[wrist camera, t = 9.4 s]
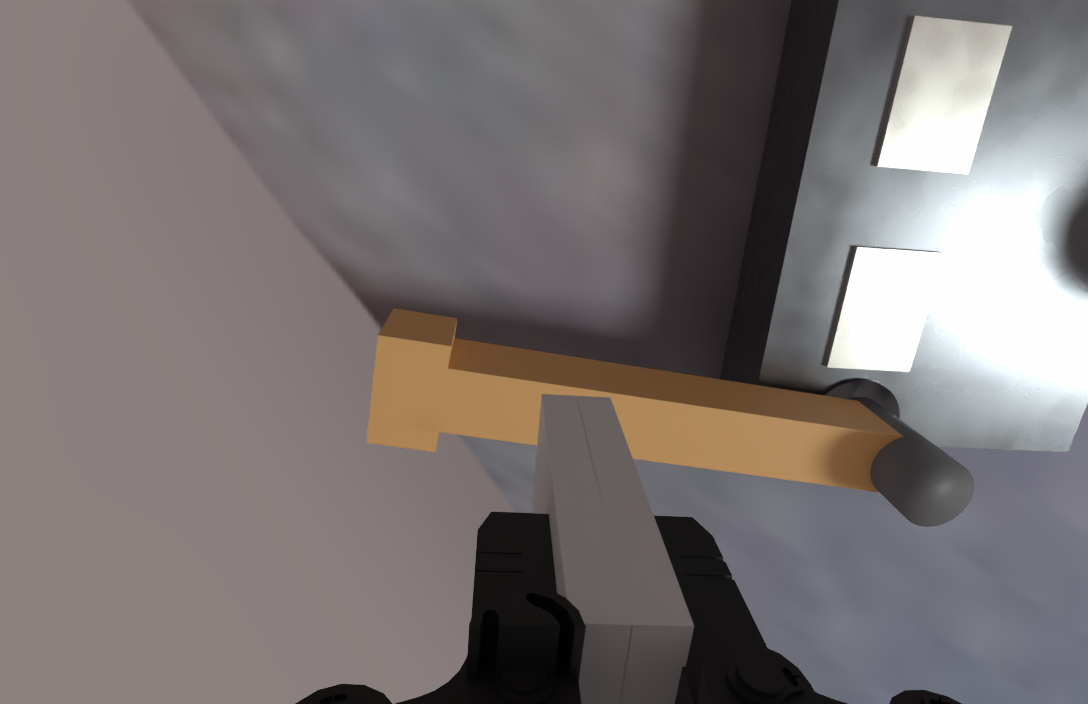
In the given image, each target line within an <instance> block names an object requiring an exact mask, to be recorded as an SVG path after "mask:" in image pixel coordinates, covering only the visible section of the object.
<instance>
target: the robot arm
mask: <svg viewBox="0 0 1088 704" xmlns="http://www.w3.org/2000/svg"><path fill="white" fill-rule="evenodd" d="M532 506H533V513H510V512H491V513H490V514H489V516H488V517H487V518H486V520H485V521H484V522H483V524H482V525H481V526H480V528H479V529H478V535H477V550H476V564H475V578H474V592H473V606H472V618H471V622H470V625H469V641H468V642H469V643H468V655H467V658H466V660H465V662H464V664H463V665H462V667H461V669H460V671H459V672H458V673H457V674H456V675H455V676H454V677H453V678H452V679H451V680H450V681H449V682H447V683H446V684H444V685H443V686H441V687H440V688H438V689H437V690H435V691H433V692H430V693H428V694H425V695H423V696H420V697H417V698H414V699H410V700H407V701H403V702H400V703H396V704H847V703H844V702H840V701H837V700H834V699H831V698H829V697H826V696H823V695H821V694H818V693H816V692H814V690H813V688H812V686H811V684H810V683H809V682H808V680H807V679H806V678H805V676H804V675H803V674H802V672H801V671H800V670H799V668H798V667H796V666H795V665H794V664H792V663H791V662H790V661H788V660H787V659H786V658H785V657H783V656H782V655H781V654H779V653H777V652H774V651H772V650H770V649H768V648H767V646H766V644H765V642H764V640H763V638H762V636H761V634H760V632H759V630H758V628H757V626H756V624H755V622H754V620H753V618H752V616H751V613H750V611H749V609H748V607H747V605H746V603H745V601H744V599H743V597H742V595H741V593H740V591H739V589H738V587H737V585H736V583H735V581H734V580H732V575H731V573H730V571H729V569H728V566H727V564H726V562H723V556H722V554H721V552H720V550H719V548H718V546H717V544H716V542H715V540H714V538H713V536H712V535H711V534H710V533H709V532H708V531H707V530H705V529H704V528H703V527H702V526H701V525H700V524H699V523H698V522H697V521H696V520H695V519H693V518H692V517H672V516H654V515H653V512H652V510H651V507H650V504H649V502H648V499H647V496H646V493H645V491H644V488H643V485H642V482H641V480H640V477H639V474H638V472H637V469H636V466H635V463H634V461H633V458H632V455H631V452H630V450H629V447H628V444H627V442H626V439H625V436H624V433H623V431H622V428H621V425H620V422H619V420H618V417H617V414H616V412H615V409H614V406H613V403H612V401H611V398H610V397H590V396H571V395H552V394H542V396H541V408H540V419H539V431H538V442H537V453H536V465H535V476H534V488H533V499H532ZM296 704H392V703H391V702H390V700H389V699H388V698H387V697H386V696H385V695H384V693H381V692H379V691H377V690H374V689H372V688H370V687H367V686H365V685H352V684H340V685H336V686H332V687H328V688H325V689H321V690H317V691H316V692H314V693H312V694H311V695H309V696H308V697H306V698H304V699H302V700H301V701H299V702H298V703H296ZM890 704H961V703H959V702H957V701H955V700H953V699H951V698H949V697H947V696H944V695H940V694H937V693H933V692H929V691H926V690H906V691H903V692H901V693H900V694H898V695H896V696H894V697H892V699H891V701H890Z"/></svg>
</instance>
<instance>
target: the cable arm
mask: <svg viewBox="0 0 1088 704" xmlns="http://www.w3.org/2000/svg"><path fill="white" fill-rule="evenodd" d="M456 325H457V318H452V317H446V316H440V315H434V314H427V313H421V312H415V311H409V310H402V309H396V308H393V310H392V312H391V313H390V315H389V317H388V319H387V320H386V322H385V324H384V325H383V327H382V329H381V331H380V332H379V334H378V339H377V348H376V358H375V368H374V377H373V387H372V396H371V405H370V415H369V425H368V434H367V443H372V444H379V445H387V446H394V447H401V448H409V449H417V450H424V451H431V452H436V448H437V443H438V438H439V433H440V432H443V433H450V434H457V435H465V436H472V437H479V438H487V439H494V440H501V441H508V442H516V443H523V444H530V445H537V442H538V431H539V419H540V408H541V396H542V394H552V395H571V396H590V397H610V398H611V401H612V403H613V406H614V409H615V412H616V414H617V417H618V420H619V422H620V425H621V428H622V431H623V433H624V436H625V439H626V442H627V444H628V447H629V450H630V452H631V455H632V458H633V459H640V460H647V461H654V462H662V463H669V464H676V465H684V466H691V467H698V468H705V469H713V470H720V471H727V472H735V473H742V474H749V475H756V476H764V477H771V478H778V479H786V480H793V481H800V482H808V483H815V484H822V485H829V486H837V487H844V488H851V489H859V490H866V491H873V492H880V493H881V494H882V495H883V496H884V497H885V498H886V499H887V500H888V501H889V502H890V503H891V504H892V505H893V506H894V507H895V508H896V509H897V510H898V511H899V512H900V513H901V514H902V515H903V516H904V517H906V518H907V519H908V520H909V521H910V522H912V523H914V524H916V525H919V526H926V527H929V526H937V525H941V524H944V523H946V522H948V521H950V520H952V519H954V518H955V517H956V516H958V515H959V514H960V513H961V512H962V511H963V510H964V509H965V508H966V506H967V505H968V504H969V502H970V500H971V498H972V495H973V491H974V481H973V478H972V475H971V474H970V472H969V471H968V470H967V469H966V468H965V467H964V466H962V465H961V464H960V463H958V462H957V461H956V460H954V459H953V458H952V457H950V456H949V455H947V454H946V453H945V452H943V451H942V450H941V449H939V448H938V447H937V446H935V445H934V444H933V443H931V442H930V441H929V440H927V439H926V438H925V437H923V436H922V435H921V434H919V433H918V432H917V431H915V430H914V429H913V428H911V427H910V426H908V425H907V424H906V423H904V422H903V421H902V420H900V419H899V418H898V417H896V416H895V415H894V414H892V413H891V412H890V411H888V410H887V409H886V408H884V407H883V406H882V405H880V404H879V403H878V402H876V401H875V400H873V399H870V398H866V397H856V398H852V399H843V398H837V397H830V396H824V395H817V394H811V393H804V392H798V391H792V390H785V389H779V388H772V387H766V386H760V385H753V384H747V383H740V382H734V381H727V380H721V379H715V378H708V377H702V376H695V375H689V374H682V373H676V372H670V371H663V370H657V369H650V368H644V367H637V366H631V365H625V364H618V363H612V362H605V361H599V360H593V359H586V358H580V357H573V356H567V355H560V354H554V353H548V352H541V351H535V350H528V349H522V348H515V347H509V346H503V345H496V344H490V343H483V342H477V341H470V340H464V339H458V338H455V332H456Z"/></svg>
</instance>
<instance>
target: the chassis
mask: <svg viewBox="0 0 1088 704" xmlns="http://www.w3.org/2000/svg"><path fill="white" fill-rule="evenodd" d="M721 380H727V381H734V382H740V383H747V384H753V385H760V386H766V387H772V388H779V389H785V390H792V391H798V392H804V393H811V394H817V395H824V396H830V397H837V398H843V399H852V398H856V397H866V398H870V399H873V400H875V401H876V402H878V403H879V404H880V405H882V406H883V407H884V408H886V409H887V410H888V411H890V412H891V413H892V414H894V415H895V416H896V417H898V418H899V419H900V420H902V421H903V422H904V423H906V424H907V425H908V426H910V427H911V428H913V429H914V430H915V431H917V432H918V433H919V434H921V435H922V436H923V437H925V438H926V439H927V440H929V441H930V442H931V443H933V444H934V445H935V446H938V447H961V448H984V449H1006V450H1029V451H1052V452H1068V450H1069V447H1070V445H1071V442H1072V440H1073V437H1074V435H1075V433H1076V430H1077V428H1078V425H1079V423H1080V420H1081V418H1082V415H1083V413H1084V410H1085V408H1086V405H1087V403H1088V0H792V5H791V10H790V15H789V20H788V26H787V31H786V36H785V42H784V47H783V52H782V57H781V63H780V68H779V73H778V78H777V84H776V89H775V94H774V100H773V105H772V110H771V115H770V121H769V126H768V131H767V137H766V142H765V147H764V152H763V158H762V163H761V168H760V174H759V179H758V184H757V189H756V195H755V200H754V205H753V211H752V216H751V221H750V226H749V232H748V237H747V242H746V248H745V253H744V258H743V263H742V269H741V274H740V279H739V285H738V290H737V295H736V300H735V306H734V311H733V316H732V322H731V327H730V332H729V337H728V343H727V348H726V353H725V359H724V364H723V369H722V374H721Z"/></svg>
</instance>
